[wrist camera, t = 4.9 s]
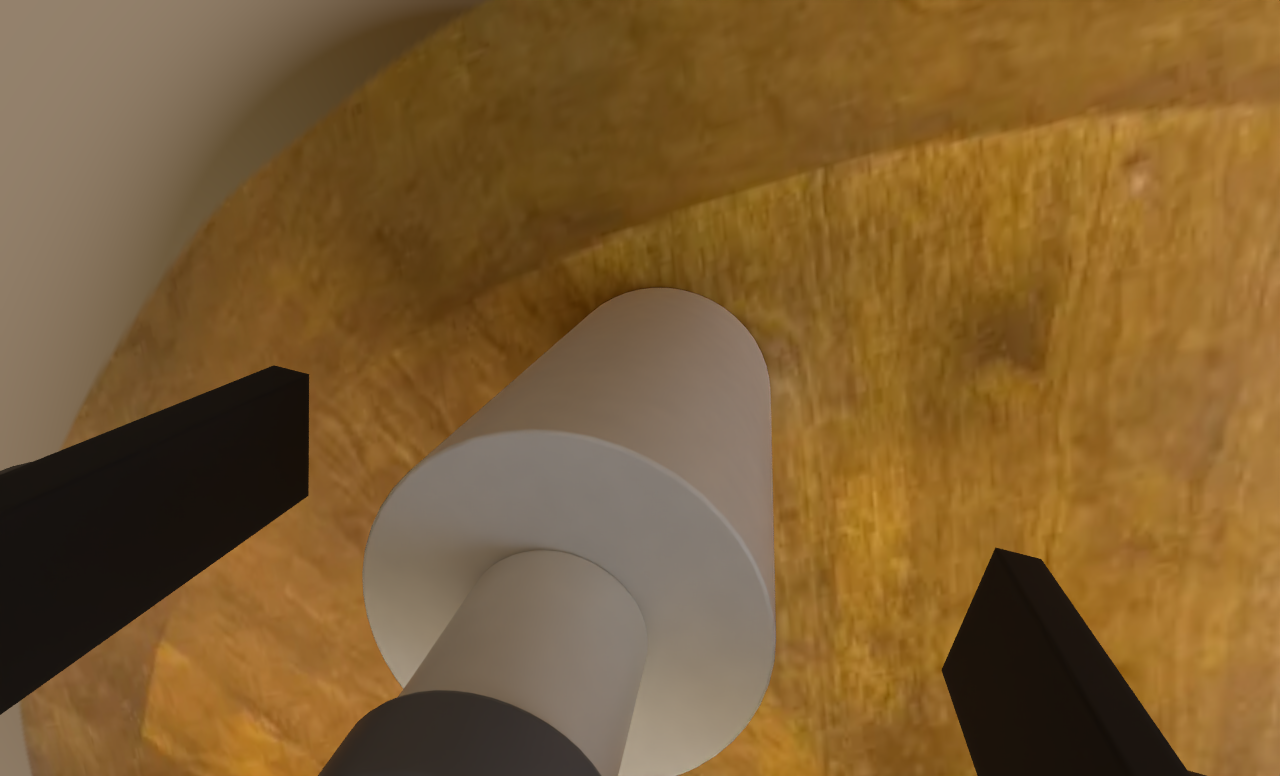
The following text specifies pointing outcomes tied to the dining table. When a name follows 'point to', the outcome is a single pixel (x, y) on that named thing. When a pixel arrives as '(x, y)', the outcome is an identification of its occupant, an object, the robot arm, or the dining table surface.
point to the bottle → (583, 561)
